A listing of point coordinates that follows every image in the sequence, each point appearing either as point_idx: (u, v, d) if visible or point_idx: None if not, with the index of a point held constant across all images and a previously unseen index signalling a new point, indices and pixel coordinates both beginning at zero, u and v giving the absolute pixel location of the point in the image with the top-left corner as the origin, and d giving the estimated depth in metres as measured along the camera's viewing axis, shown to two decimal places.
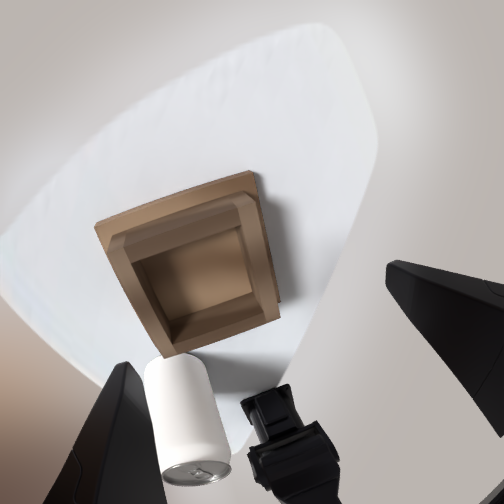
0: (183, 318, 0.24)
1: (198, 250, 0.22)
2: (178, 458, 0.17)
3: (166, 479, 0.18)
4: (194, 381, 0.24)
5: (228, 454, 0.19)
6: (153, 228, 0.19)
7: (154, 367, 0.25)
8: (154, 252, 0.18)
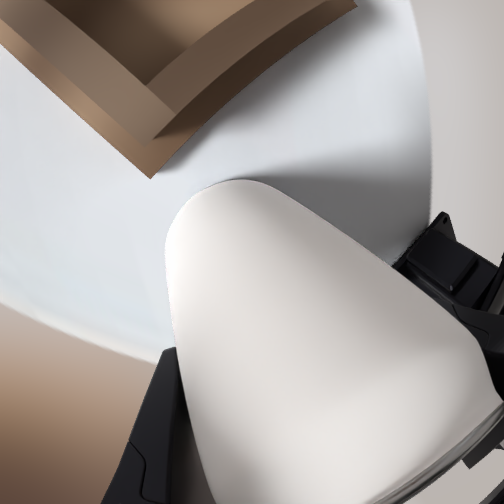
0: None
1: None
2: (312, 500, 0.03)
3: None
4: (272, 202, 0.09)
5: None
6: None
7: (172, 235, 0.11)
8: None
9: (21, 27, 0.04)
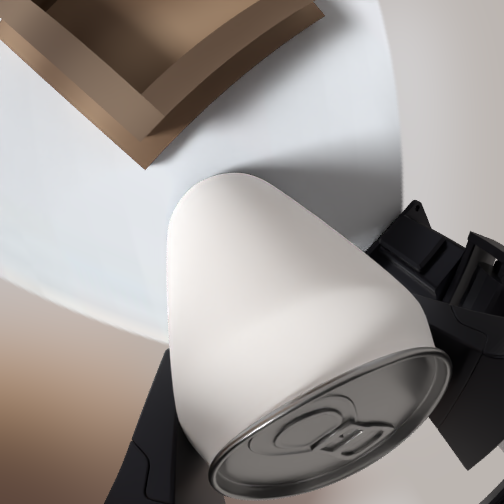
0: None
1: None
2: (243, 398, 0.04)
3: (252, 489, 0.06)
4: (256, 189, 0.10)
5: (427, 323, 0.05)
6: None
7: (173, 218, 0.13)
8: None
9: (39, 44, 0.06)
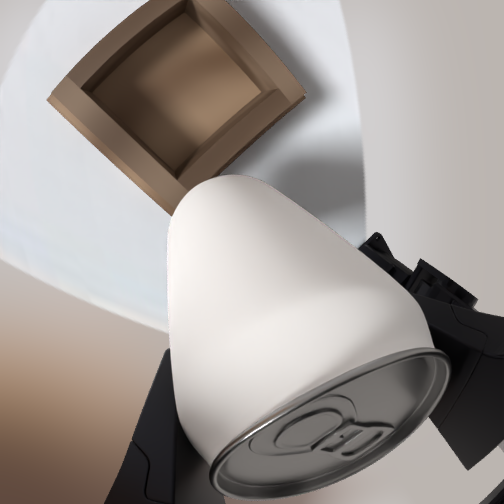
0: (189, 156, 0.17)
1: (168, 64, 0.15)
2: (244, 398, 0.04)
3: (252, 489, 0.06)
4: (256, 191, 0.11)
5: (426, 324, 0.05)
6: None
7: (173, 220, 0.13)
8: (102, 61, 0.11)
9: (102, 137, 0.13)
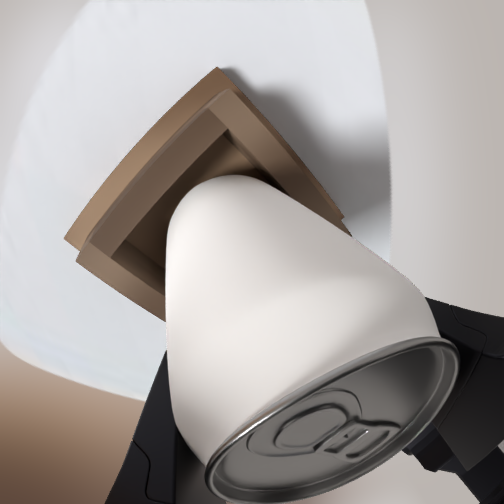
0: None
1: None
2: (240, 392, 0.04)
3: (252, 494, 0.05)
4: (255, 188, 0.10)
5: (432, 315, 0.05)
6: (119, 198, 0.12)
7: (172, 220, 0.13)
8: (130, 227, 0.12)
9: (146, 306, 0.14)
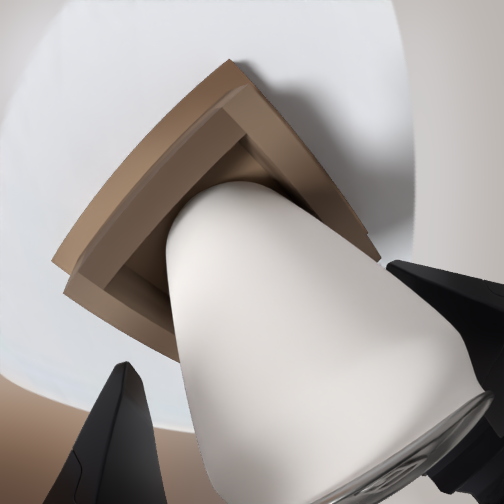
0: None
1: None
2: (300, 474, 0.03)
3: None
4: (269, 203, 0.09)
5: (469, 358, 0.05)
6: (113, 217, 0.10)
7: (173, 234, 0.11)
8: (126, 254, 0.10)
9: (148, 343, 0.11)
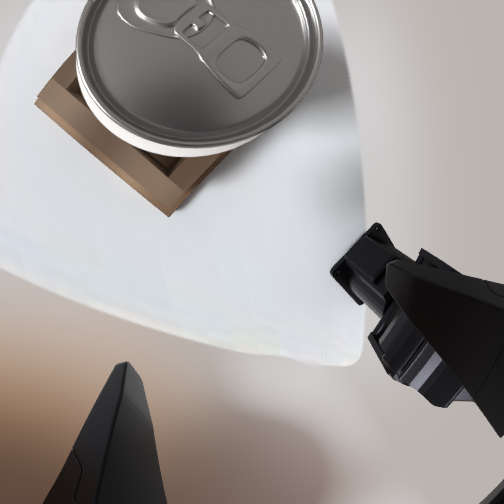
0: None
1: None
2: None
3: (119, 120, 0.05)
4: None
5: None
6: None
7: None
8: None
9: (90, 137, 0.12)
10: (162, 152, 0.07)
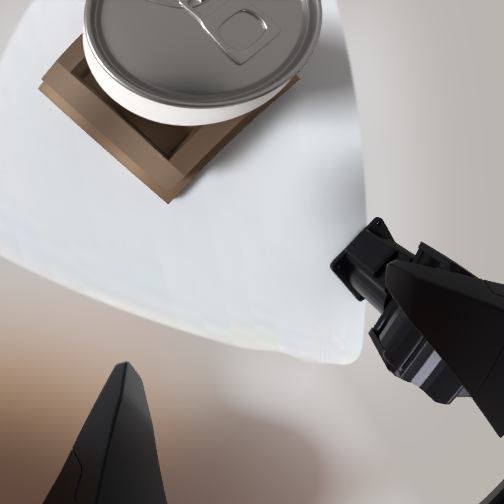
0: (182, 139, 0.17)
1: None
2: None
3: (122, 81, 0.05)
4: None
5: None
6: None
7: None
8: None
9: (92, 119, 0.12)
10: (162, 118, 0.07)
